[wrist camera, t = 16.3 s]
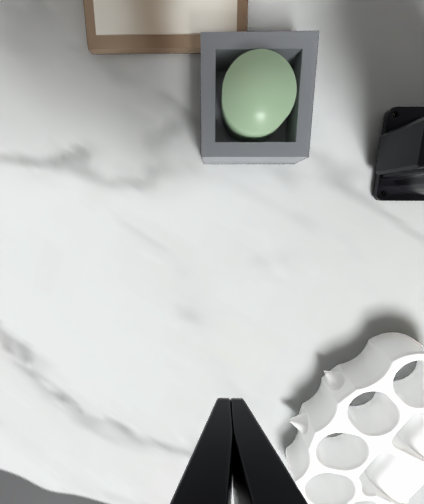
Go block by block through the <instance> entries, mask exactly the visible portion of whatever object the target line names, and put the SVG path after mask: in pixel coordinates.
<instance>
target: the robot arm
mask: <svg viewBox="0 0 424 504" xmlns="http://www.w3.org/2000/svg"><path fill="white" fill-rule="evenodd" d="M392 113H394V114H395V117H394V118H392ZM375 172H376V179H375V186H374V193H373V196H374V198H375V199H376V200H389V201H424V107H394V108H392V109H390V110H388V111H387V112H386V113H385V116H384V122H383V129H382V136H381V137H380V141H379V148H378V155H377V163H376V170H375ZM381 191H382V192H383V196H382V197H381V196H380V192H381ZM232 486H233V495H234V503H235V504H308V503H307V501H306V500H305V498H304V496H303V495H302V493H301V491H300V490H299V488H298V487H297V485H296V483H295V482H294V480H293V478H292V477H291V475H290V474H289V472H288V470H287V469H286V467H285V466H284V464H283V462H282V461H281V459H280V457H279V456H278V454H277V453H276V451H275V449H274V448H273V446H272V445H271V443H270V441H269V440H268V438H267V436H266V435H265V433H264V432H263V430H262V428H261V427H260V425H259V424H258V422H257V420H256V419H255V417H254V415H253V414H252V412H251V411H250V409H249V407H248V406H247V404H246V403H245V401H244V400H243V399H242V398H232V399H231V400H230V399H229V398H218V399H217V401H216V403H215V405H214V407H213V409H212V412H211V414H210V416H209V418H208V421H207V423H206V425H205V427H204V429H203V432H202V434H201V436H200V438H199V440H198V443H197V445H196V447H195V449H194V452H193V454H192V456H191V458H190V460H189V463H188V465H187V467H186V469H185V471H184V474H183V476H182V478H181V480H180V483H179V485H178V487H177V489H176V491H175V494H174V496H173V498H172V500H171V503H170V504H231V493H232Z"/></svg>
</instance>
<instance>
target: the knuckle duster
mask: <svg viewBox="0 0 424 504" xmlns="http://www.w3.org/2000/svg"><path fill="white" fill-rule="evenodd" d="M412 361H417V365H416V368H415V369H414V371H413V372H412V373H411V374H410V375H409V376H407V377H406V378H404V379H401V380H395V381H393V379H394V377H395V375H396V373H397V372H398V370H399V369H400V368H401V367H403V366H404V365H406V364H408V363H410V362H412ZM324 373H325V375H324V376H323V377H322V378H321V384H320V387H319V389H318V391H317V392H316V393H315V395H314V396H313V397H312V398H310V399H309V400H307V401H306V402H304V403H302V406H301V408H300V411H299V414H298V415H297V416H295V417H292V418H290V419H287V420H288V421H289V422H291V423H292V424H293V425H294V426H295V427H296V428H297V429H298V433H297V436H296V438H295V439H294V441H293V442H292V443H291V444H290V445H289V446H288V447H286V451H285V453H286V459H287V462H288V466H289V470H290V473H291V477H292V478H293V480H294V482H295V483H296V485H297V487H298V488H299V490H300V491H301V493H302V495H303V496H304V498H305V500H306V501H307V503H308V504H353V503H354V502H357V501H369V500H370V501H374V502H376V503H378V504H407V502H408V499H409V498H410V497H411V496H412V495H413V494H414V493H415V492H416V491H417V490H418V489H419V488H420V487H421V486H422V485H423V484H424V346H423V345H422V344H420V343H419V342H417V341H416V340H414V339H413V338H411V337H410V336H408V335H405V334H402V333H397V332H389V333H383V334H379V335H376V336H374V337H372V338H370V339H369V340H368V342H367V345H366V346H365V348H364V350H363V351H362V352H361V353H360V354H359V355H358V356H357V357H355V358H354V359H352V360H350V361H348V362H345V363H342V364H338V365H336V366H335V367H334V368H333V369H331V370H330V371H325V370H324ZM370 391H376V392H375V395H374V396H373V398H372V399H371V400H370V401H368V402H367V403H365V404H363V405H359V406H350V405H349V404H350V403H351V401H352V400H353V399H354V398H355V397H357V396H358V395H360V394H362V393H365V392H370ZM333 433H342V434H340V435H338V436H335V437H326V436H328V435H330V434H333Z"/></svg>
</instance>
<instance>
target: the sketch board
mask: <svg viewBox="0 0 424 504" xmlns="http://www.w3.org/2000/svg"><path fill="white" fill-rule="evenodd" d="M83 1H84V12H85V23H86V33H87V44H88V50H89V51H90V52H91V53H92V54H157V53H201V32H247V11H248V0H83Z"/></svg>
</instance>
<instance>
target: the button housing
mask: <svg viewBox="0 0 424 504" xmlns="http://www.w3.org/2000/svg"><path fill="white" fill-rule="evenodd" d="M318 40H319V31H248V32H201V157H202V160H203V163H204V164H295V163H297V162H299V161H301V160H303V159H305V158H308V157H309V148H310V136H311V124H312V112H313V100H314V88H315V76H316V64H317V52H318ZM255 49H268V50H272V51H274V52H276V53H278V54H280V55H281V56H282V57H284V58H285V59H286V60H287V62H288V63H289V64H290V66H291V68H292V70H293V72H294V75H295V78H296V85H297V93H296V99H295V103H294V105H293V108H292V110H291V112H290V113H289V115H288V116H287V118H286V119H285V120H284V121H283V122H282V124H281V125H280V126H279V127H278V128H277V130H276V131H275V132H274V133H273V134H272V135H271V136H270V137H269V138H267V139H266V140H264V141H262V142H240V141H238V140H236V139H235V138H233V137H232V136H231V135H230V134H229V133H228V131H227V130H226V128H225V126H224V124H223V121H222V116H221V103H222V86H223V81H224V78H225V75H226V73H227V71H228V69H229V67H230V66H231V64H232V63H233V62H234V61H235V60H236V59H237V58H238V57H239V56H241V55H242V54H244V53H246V52H248V51H251V50H255Z"/></svg>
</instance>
